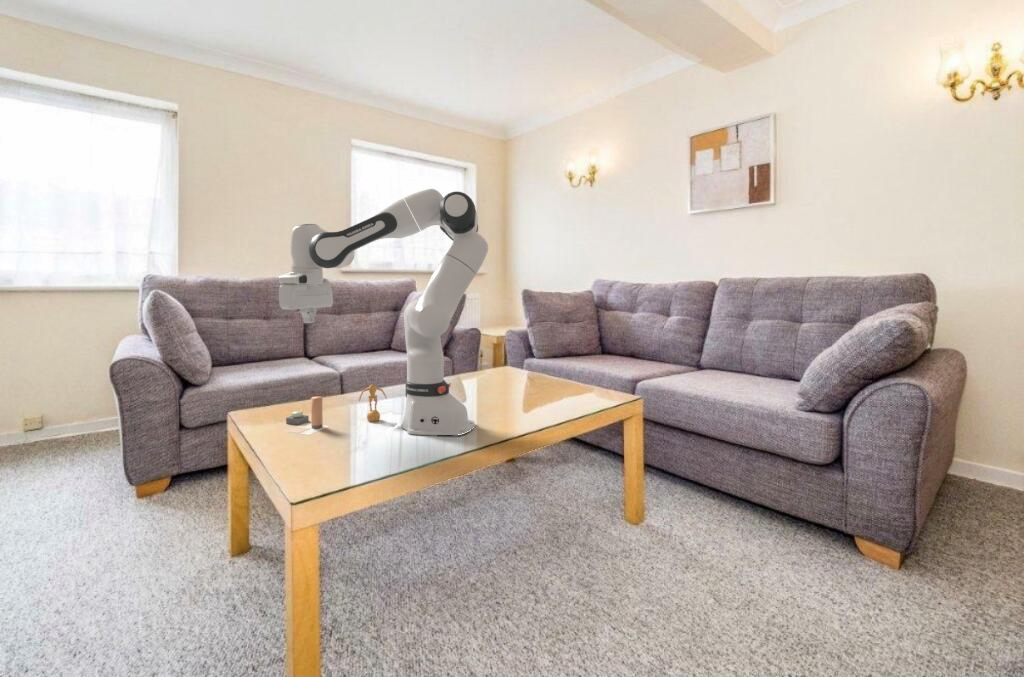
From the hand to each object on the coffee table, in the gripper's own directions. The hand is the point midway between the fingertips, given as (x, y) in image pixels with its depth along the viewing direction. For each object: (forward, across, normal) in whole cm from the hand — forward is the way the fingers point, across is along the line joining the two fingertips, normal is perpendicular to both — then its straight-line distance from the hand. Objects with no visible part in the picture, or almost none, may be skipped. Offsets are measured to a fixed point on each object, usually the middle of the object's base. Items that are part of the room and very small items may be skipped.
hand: (308, 322), depth 144 cm
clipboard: (+31, +10, +5) cm, 33 cm away
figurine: (+31, -4, +20) cm, 37 cm away
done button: (+30, +6, 0) cm, 30 cm away
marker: (+30, +9, +9) cm, 32 cm away
